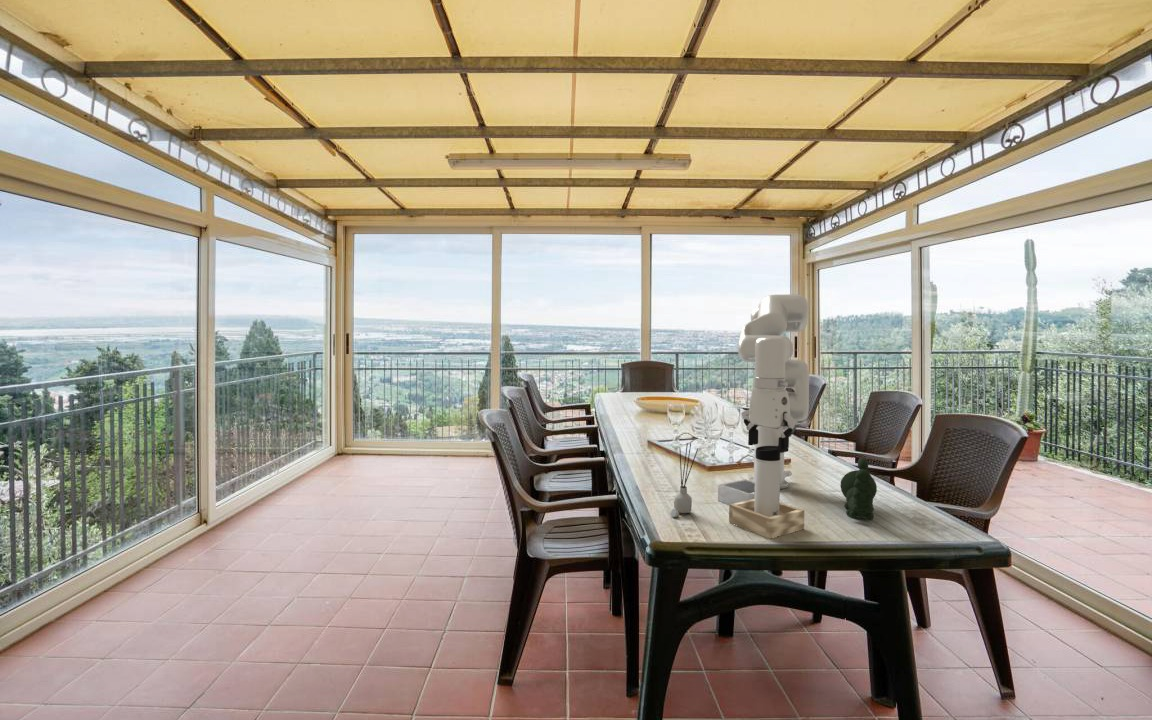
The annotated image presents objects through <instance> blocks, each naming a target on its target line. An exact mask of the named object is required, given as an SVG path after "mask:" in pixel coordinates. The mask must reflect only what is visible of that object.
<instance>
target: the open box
mask: <svg viewBox="0 0 1152 720" xmlns="http://www.w3.org/2000/svg"><path fill="white" fill-rule="evenodd" d="M751 499H755V482H753V481H750V480H749V479H747V478H745V479H744V478H743V479H739V480H734V481H730V482H724V483H718V484H717V501H718V502H720V501H721V502H720V503H723V502H724V503H723V504H726V503H727V504H726V505H728V504H729V505H730V504H734V503H738V502H743V501H747V500H751Z"/></svg>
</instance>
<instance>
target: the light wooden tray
mask: <svg viewBox="0 0 1152 720" xmlns="http://www.w3.org/2000/svg"><path fill="white" fill-rule="evenodd" d="M754 503H755V499H751V500H747V501H743V502H738V503H734V504H730V505H729V506H728V523H729V522H730V523H729V524H731V523H732V524H731V525H733V524H735V525H734V526H736V525H737V527H738V526H739V528H741V527H742V528H741V529H743V528H744V530H746V529H747V531H748V530H749V531H748V532H751V531H752V532H751V533H753V532H754V534H756V533H757V534H756V535H758V534H759V536H761V535H762V536H761V537H763V536H764V537H763V538H766V537H767V538H766V539H768V538H769V540H771V539H770V538H772V539H774V538H773V537H775V538H778V537H777V536H779V537H782V536H785V535H784V534H786V535H788V533H789V534H792V533H795V531H796V532H799V531H802V529H803V530H804V529H805V510H804V509H801V508H799V507H796V506H793V505H788V504H786V503H784V502H781V501H779V515H776V516H772V517H768V516H765V515H762V514H759V513H757V512H754ZM781 535H782V536H781Z"/></svg>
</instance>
